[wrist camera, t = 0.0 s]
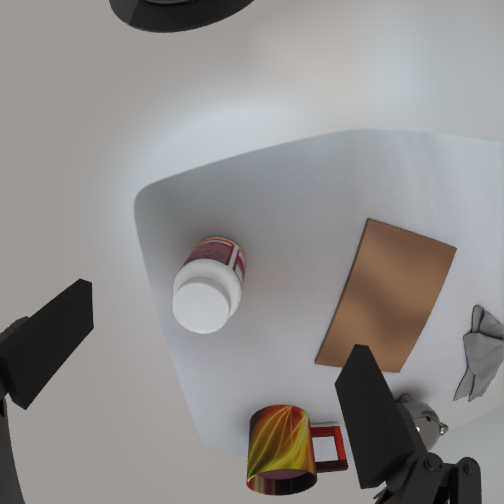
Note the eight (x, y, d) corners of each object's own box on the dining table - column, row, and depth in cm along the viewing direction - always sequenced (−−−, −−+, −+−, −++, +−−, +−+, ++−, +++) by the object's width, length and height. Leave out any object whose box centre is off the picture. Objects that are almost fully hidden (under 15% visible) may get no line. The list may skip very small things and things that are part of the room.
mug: (339, 423, 41) (352, 479, 29) (262, 443, 43) (261, 498, 31) (326, 389, 38) (340, 453, 27) (240, 413, 40) (234, 475, 29)
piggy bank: (346, 405, 39) (362, 461, 28) (430, 373, 37) (459, 420, 27) (353, 439, 43) (365, 487, 32) (426, 411, 41) (448, 454, 30)
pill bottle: (181, 263, 33) (148, 308, 23) (215, 224, 31) (191, 256, 21) (222, 297, 34) (206, 353, 24) (257, 260, 33) (255, 308, 22)
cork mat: (367, 217, 31) (369, 219, 30) (454, 247, 31) (457, 248, 31) (314, 361, 37) (314, 364, 36) (397, 370, 37) (399, 372, 37)
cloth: (496, 384, 39) (501, 390, 37) (448, 412, 41) (452, 419, 39) (519, 281, 32) (527, 286, 30) (465, 310, 34) (473, 317, 32)
